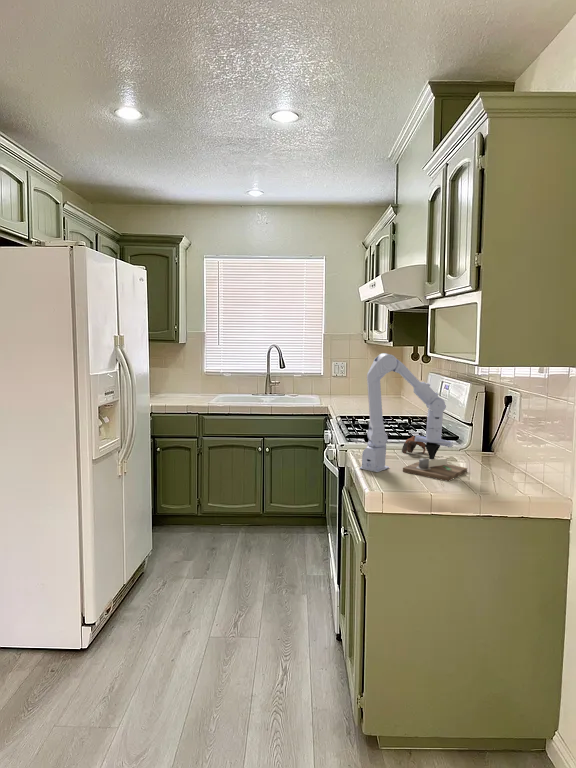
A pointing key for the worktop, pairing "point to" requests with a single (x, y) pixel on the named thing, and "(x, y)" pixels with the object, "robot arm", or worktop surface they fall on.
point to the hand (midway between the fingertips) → (431, 462)
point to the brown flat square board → (436, 471)
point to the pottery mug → (412, 445)
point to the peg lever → (432, 462)
